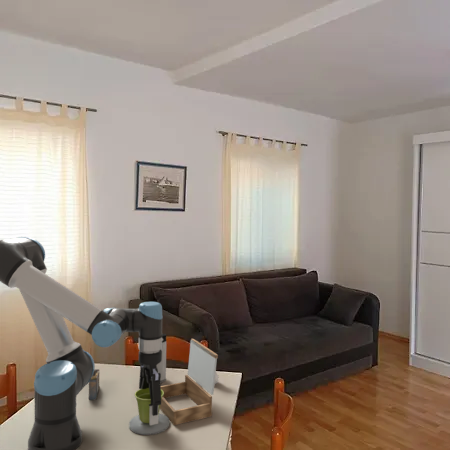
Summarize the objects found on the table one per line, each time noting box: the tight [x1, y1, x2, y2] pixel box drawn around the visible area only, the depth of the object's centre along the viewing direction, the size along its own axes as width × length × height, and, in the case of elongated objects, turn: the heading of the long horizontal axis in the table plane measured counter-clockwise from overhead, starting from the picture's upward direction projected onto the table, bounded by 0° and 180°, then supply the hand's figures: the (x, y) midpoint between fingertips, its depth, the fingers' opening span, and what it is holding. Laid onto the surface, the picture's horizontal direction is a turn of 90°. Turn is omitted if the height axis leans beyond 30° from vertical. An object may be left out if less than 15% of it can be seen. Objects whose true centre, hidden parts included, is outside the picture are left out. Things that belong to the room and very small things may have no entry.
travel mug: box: [157, 333, 167, 384], centre depth 181 cm, size 6×7×20 cm
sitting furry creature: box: [195, 371, 220, 387], centre depth 180 cm, size 10×9×12 cm
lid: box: [187, 338, 219, 396], centre depth 161 cm, size 14×21×1 cm
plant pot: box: [134, 388, 164, 423], centre depth 144 cm, size 9×9×9 cm
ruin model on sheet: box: [88, 368, 100, 400], centre depth 168 cm, size 11×3×10 cm, turn 10°
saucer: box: [128, 412, 170, 436], centre depth 145 cm, size 13×13×1 cm
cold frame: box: [159, 374, 213, 426], centre depth 157 cm, size 14×22×7 cm, turn 28°
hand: (149, 418), depth 145 cm, fingers closed on plant pot, 8 cm apart
